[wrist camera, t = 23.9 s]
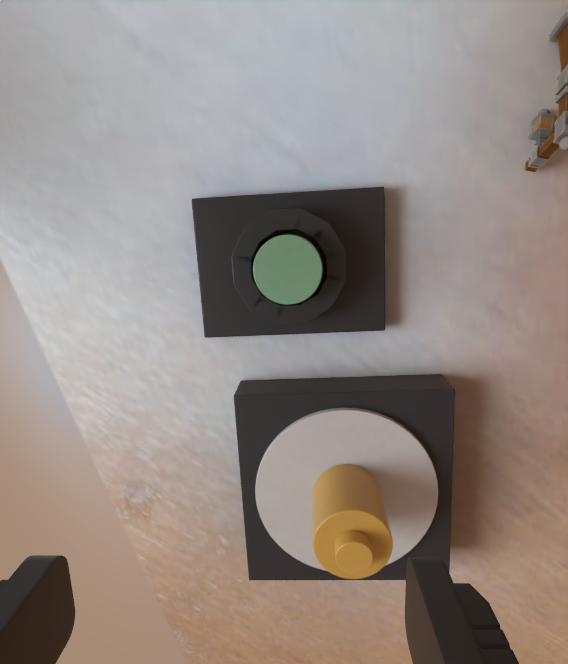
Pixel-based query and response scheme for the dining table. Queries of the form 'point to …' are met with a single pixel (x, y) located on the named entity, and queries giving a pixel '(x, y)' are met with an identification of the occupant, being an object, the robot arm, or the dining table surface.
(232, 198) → the block
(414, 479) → the scale
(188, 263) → the dining table surface
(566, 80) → the wooden post with brackets
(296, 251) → the button
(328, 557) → the brass weight
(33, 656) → the robot arm
